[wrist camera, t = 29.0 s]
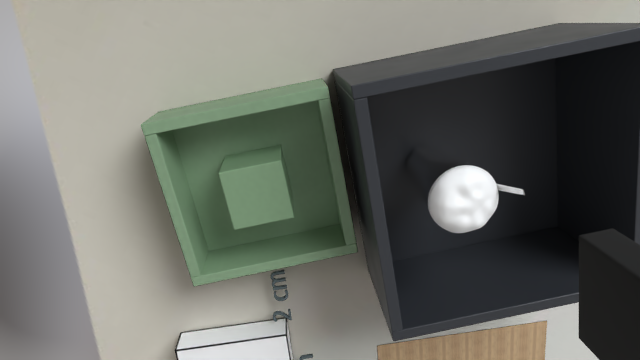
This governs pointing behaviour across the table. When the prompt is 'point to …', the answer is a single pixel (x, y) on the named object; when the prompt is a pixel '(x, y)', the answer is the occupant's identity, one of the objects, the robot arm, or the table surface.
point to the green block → (257, 187)
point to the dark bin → (495, 167)
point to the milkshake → (454, 189)
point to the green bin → (240, 136)
